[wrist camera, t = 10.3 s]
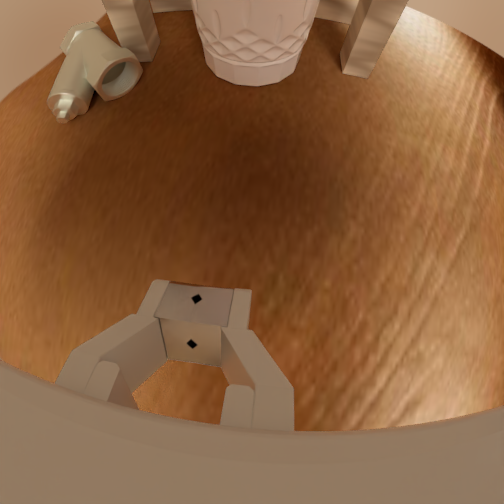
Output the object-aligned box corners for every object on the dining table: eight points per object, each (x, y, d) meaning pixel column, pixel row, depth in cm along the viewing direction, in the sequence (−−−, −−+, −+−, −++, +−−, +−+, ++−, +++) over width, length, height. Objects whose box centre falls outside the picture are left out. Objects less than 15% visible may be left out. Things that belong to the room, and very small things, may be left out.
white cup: (316, 93, 18) (355, -26, 8) (198, 99, 18) (173, -28, 8) (295, 25, 19) (313, -73, 10) (197, 30, 19) (184, -71, 9)
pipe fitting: (76, 141, 18) (148, 79, 18) (47, 117, 14) (130, 46, 14) (45, 92, 19) (105, 41, 19) (22, 69, 15) (87, 13, 15)
